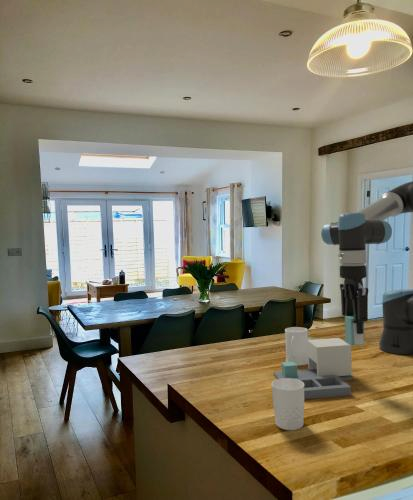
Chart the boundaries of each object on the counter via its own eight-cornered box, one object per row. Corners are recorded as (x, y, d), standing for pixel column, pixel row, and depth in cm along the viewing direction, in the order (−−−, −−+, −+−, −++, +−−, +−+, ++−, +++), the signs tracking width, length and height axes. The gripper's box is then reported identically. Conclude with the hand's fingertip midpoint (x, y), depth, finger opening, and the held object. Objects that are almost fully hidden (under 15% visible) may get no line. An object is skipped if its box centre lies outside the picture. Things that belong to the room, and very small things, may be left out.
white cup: (269, 418, 100) (268, 379, 99) (299, 415, 100) (298, 377, 100) (278, 433, 92) (276, 391, 92) (310, 430, 92) (309, 388, 92)
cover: (339, 366, 132) (338, 337, 132) (352, 375, 123) (350, 344, 123) (308, 368, 131) (307, 340, 131) (318, 377, 122) (316, 347, 122)
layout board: (339, 369, 133) (339, 355, 133) (353, 380, 123) (352, 364, 123) (273, 374, 131) (272, 360, 131) (281, 385, 121) (281, 369, 121)
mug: (302, 369, 134) (301, 335, 134) (279, 366, 139) (277, 333, 139) (312, 360, 144) (311, 327, 144) (290, 357, 149) (289, 326, 149)
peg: (357, 341, 120) (357, 315, 120) (364, 344, 116) (363, 317, 116) (345, 342, 119) (344, 316, 119) (351, 345, 115) (350, 318, 115)
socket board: (336, 382, 121) (336, 374, 121) (351, 395, 111) (350, 386, 111) (286, 386, 120) (285, 378, 120) (296, 399, 110) (296, 391, 110)
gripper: (328, 263, 125) (331, 336, 126) (354, 266, 108) (356, 350, 109) (351, 262, 126) (353, 335, 126) (379, 265, 109) (382, 349, 109)
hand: (354, 342), depth 118 cm, fingers closed on peg, 4 cm apart
